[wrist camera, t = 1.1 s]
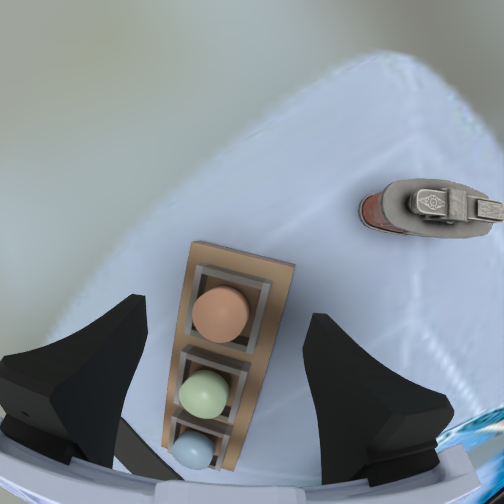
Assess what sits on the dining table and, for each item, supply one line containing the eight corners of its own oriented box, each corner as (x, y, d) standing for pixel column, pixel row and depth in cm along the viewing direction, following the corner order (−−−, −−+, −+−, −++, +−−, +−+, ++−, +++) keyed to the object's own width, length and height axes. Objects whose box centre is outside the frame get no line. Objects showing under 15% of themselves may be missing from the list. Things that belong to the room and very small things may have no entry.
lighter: (357, 232, 22) (395, 234, 12) (358, 189, 22) (396, 161, 12) (444, 238, 21) (516, 245, 11) (445, 198, 21) (516, 184, 11)
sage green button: (225, 412, 22) (219, 424, 20) (184, 398, 22) (176, 409, 20) (234, 378, 21) (228, 389, 19) (190, 363, 22) (181, 373, 20)
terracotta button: (243, 339, 21) (238, 349, 19) (197, 325, 21) (188, 333, 19) (254, 293, 20) (250, 299, 19) (206, 279, 21) (197, 284, 19)
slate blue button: (212, 462, 22) (206, 474, 21) (177, 449, 23) (170, 460, 21) (218, 438, 22) (212, 451, 20) (180, 425, 22) (172, 436, 21)
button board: (237, 459, 26) (230, 481, 22) (168, 436, 27) (155, 454, 23) (295, 264, 23) (293, 270, 20) (200, 240, 24) (183, 242, 21)
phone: (117, 414, 27) (199, 496, 27) (121, 410, 28) (201, 492, 27) (89, 428, 29) (163, 502, 28) (93, 425, 30) (165, 498, 29)
